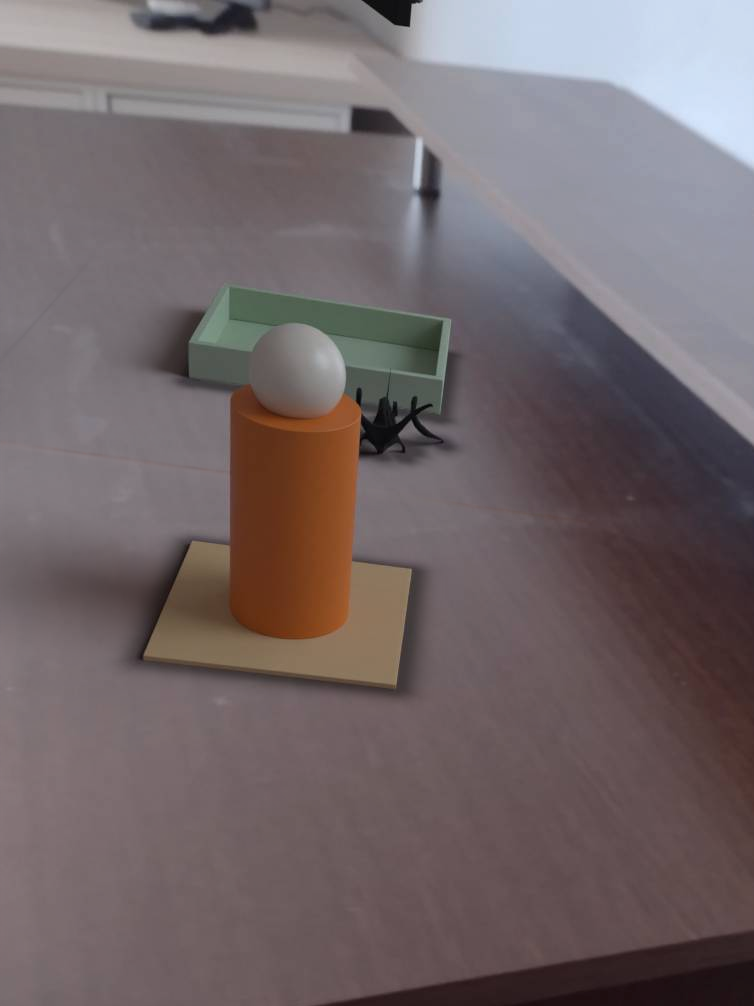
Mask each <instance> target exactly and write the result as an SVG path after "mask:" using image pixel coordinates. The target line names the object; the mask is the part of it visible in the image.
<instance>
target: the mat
mask: <svg viewBox="0 0 754 1006" xmlns="http://www.w3.org/2000/svg"><path fill="white" fill-rule="evenodd" d="M412 571H413V569H412V568H408V567H407V568H406V567H400V566H392V565H386V564H385V565H384V564H377V563H376V564H375V563H368V562H361V561H354V560H352V567H351V582H350V598H349V613H348V618H347V620H346V622H345V623H344V624H343V625H342V626H341V627H340V628H339V629H337V630H335V631H334V632H332V633H329V634H327V635H323V636H320V637H315V638H308V639H283V638H276V637H271V636H266V635H263V634H260V633H257V632H255V631H252V630H250V629H248V628H246V627H245V626H243V625H242V624H240V623H239V622H238V621H237V620H236V619H235V618H234V616H233V615H232V613H231V610H230V544H229V545H228V544H221V543H214V542H205V541H198V540H191V542H190V545H189V547H188V550H187V552H186V554H185V556H184V559H183V561H182V563H181V566H180V568H179V571H178V573H177V575H176V578H175V580H174V582H173V585H172V587H171V589H170V592H169V594H168V596H167V598H166V601H165V602H164V603H165V604H164V606H163V608H162V610H161V612H160V615H159V617H158V619H157V621H156V624H155V627H154V629H153V631H152V634H151V636H150V638H149V641H148V643H147V645H146V647H145V650H144V652H143V655H142V660H143V661H150V662H156V663H157V662H158V663H166V664H175V665H182V666H183V665H184V666H192V667H200V668H201V667H202V668H210V669H216V670H217V669H219V670H227V671H235V672H244V673H252V674H261V675H270V676H276V677H277V676H278V677H287V678H295V679H304V680H313V681H314V680H315V681H321V682H322V681H323V682H330V683H338V684H345V685H346V684H348V685H356V686H364V687H374V688H383V689H389V690H396V689H397V683H398V676H399V675H398V674H399V667H400V660H401V652H402V645H403V638H404V631H405V625H406V624H405V623H406V616H407V608H408V602H409V593H410V586H411V578H412Z"/></svg>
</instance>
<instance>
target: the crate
mask: <svg viewBox="0 0 754 1006" xmlns="http://www.w3.org/2000/svg"><path fill="white" fill-rule="evenodd" d="M287 323H300V324H305V325H309V326H312V327H314V328H316V329H318V330H320V331H321V332H323V333H324V334H326V335H327V336H328V337H329V338H330V339H331V340H332V341H333V342H334V344H335V345H336V346H337V348H338V350H339V351H340V353H341V355H342V358H343V361H344V364H345V369H346V383H345V389H344V392H343V393H344V394H345V395H347V396H349V397H350V398H352V399H353V400H354V401H355V402H356V391H357V388H361V389H362V398H361V404H367V405H373V406H379V400H380V399H381V398H383V397H386V396H387V390H388V383H389V392H388V400H389V402H390V406H391V408H393V401H396V402H397V407H398V409H401V410H407V411H411V401H412V398H413V397H414V396H417V399H418V400H417V406H416V409H417V408H419V407H421V406H424V405H426V404H432V405H433V407H429V408H427V409H425V410H423V411H421V412H420V413H427V414H433V415H434V414H435V415H441V410H442V402H443V393H444V387H445V386H444V385H445V379H446V370H447V363H448V362H447V361H448V355H449V354H448V353H449V345H450V337H451V336H450V335H451V328H452V327H451V326H452V318H450V317H449V318H448V317H441V316H435V315H430V314H429V315H428V314H422V313H416V312H409V311H402V310H397V309H390V308H384V307H378V306H371V305H366V304H359V303H353V302H345V301H339V300H334V299H333V300H332V299H326V298H320V297H313V296H307V295H302V294H301V295H300V294H294V293H288V292H281V291H275V290H269V289H264V288H263V289H262V288H257V287H256V288H255V287H249V286H243V285H238V284H231V283H222V284H221V286H220V287H219V289H218V291H217V292H216V295H215V296H214V298H213V299H212V301H211V303H210V305H209V306H208V307H207V310H206V311H205V313H204V315H203V316H202V318H201V320H200V322H199V324H198V325H197V327H196V328H195V330H194V332H193V333H192V335H191V337H190V339H189V341H188V343H187V347H188V351H187V353H188V378H189V379H194V380H201V381H207V382H208V381H209V382H216V383H223V384H227V385H228V384H229V385H236V386H241V387H243V386H245V385H248V384H250V380H249V370H248V368H249V360H250V356H251V353H252V350H253V348H254V346H255V344H256V343H257V341H258V340H259V339H260V338H261V337H262V336H263V335H264V334H265V333H266V332H268V331H269V330H271V329H272V328H274V327H277V326H279V325H283V324H287ZM390 368H391V372H390ZM389 376H390V382H389Z"/></svg>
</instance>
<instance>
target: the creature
mask: <svg viewBox="0 0 754 1006" xmlns="http://www.w3.org/2000/svg"><path fill="white" fill-rule="evenodd" d="M390 372H391V368H390ZM389 382H390V376H389ZM388 392H389V383H388V390H387V396H386V397H383V398H381V399H380V400H379V405H377V406H378V407H377V411H376V415H375V416H374V419H373V421H370V420H368V418H367V417H365V415H364V414H363V413H362V412H361V427H362V428H363V430H364V433H363V435H362V436H360V441H359V447H361V446H362V442H363V440H367V441H368V442H369V443H370V444H371V445H372V446H373V447H374V449H375V450H376V452H377V453H378V454H379V455H382V454H385V452H386V450H387V449H389V448H390V447H392V446H394V445H395V444H399V446H401V451H402V452H401V453H402V454H403V453H404V454H406V452H407V451H406V446H405V445H404V443H403V442H402V440H401V438H400V435H399V434H400V433H401V432H402V431H403V430H404V428H405V427H407V425H408V424H409V423H410V422H412V424H413V427H414V428H415V430H417V431H418V432H419V433H420V434H421V435H422V436H424V437H426V438H429V439H433V440H436V441H441V442H442V443H445V440H443V438H442V437H440V436H437V435H436V434H434V433H432V432H431V431H430V430H428V429H427V428H426V427H425V426H424V425H423V424H422V423H421V421H420V420H419V418H418V415H419V414H420V413H422V412H421V411H423V410H425V409H427V408H429V407H433V405H432V404H426V405H424V406H421V407H419V408H417V409H416V406H417V400H418V399H417V396H414V397H413V398H412V401H411V410H409V411H410V412H409V413H408V414H407V415H405V417H403V418H402V419H401V420H400V421H398V422H397V420H396V417H398V415H399V408H398V407H397V402H396V401H393V407H391V406H390V402H389V400H388ZM343 394H344V393H343ZM361 398H362V389H361V388H357V391H356V403H357V404H358V405H359V407H360V408H361V406H362V403H361Z"/></svg>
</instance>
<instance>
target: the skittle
mask: <svg viewBox="0 0 754 1006" xmlns="http://www.w3.org/2000/svg"><path fill="white" fill-rule="evenodd" d="M248 370H249V380H250V384H248V385H245V386H241V387H239V388H237V389H236V390H235V391H233V392H232V394H231V395H230V399H229V406H230V407H229V419H230V420H229V545H230V610H231V613H232V615H233V616H234V618H235V619H236V620H237V621H238V622H239V623H240V624H242V625H243V626H245V627H246V628H248V629H250V630H252V631H255V632H257V633H260V634H263V635H266V636H271V637H276V638H283V639H308V638H315V637H320V636H323V635H327V634H329V633H332V632H334V631H335V630H337V629H339V628H340V627H341V626H342V625H343V624H344V623H345V622H346V620H347V618H348V613H349V598H350V582H351V567H352V561H353V551H354V550H353V549H354V536H355V535H354V534H355V533H354V532H355V517H356V503H357V502H356V501H357V488H358V485H357V484H358V473H359V455H360V446H359V441H360V438H361V427H362V425H361V413H362V409H361V406H360V407H359V405H358V404H357V403H356V402H355V401H354V400H353V399H352V398H350V397H349V396H347V395H345V394H343V392H344V389H345V383H346V369H345V364H344V361H343V358H342V355H341V353H340V351H339V350H338V348H337V346H336V345H335V344H334V342H333V341H332V340H331V339H330V338H329V337H328V336H327V335H326V334H324V333H323V332H321V331H320V330H318V329H316V328H314V327H312V326H309V325H305V324H300V323H287V324H283V325H279V326H277V327H274V328H272V329H271V330H269V331H268V332H266V333H265V334H264V335H263V336H262V337H261V338H260V339H259V340H258V341H257V343H256V344H255V346H254V348H253V350H252V353H251V356H250V360H249V368H248Z"/></svg>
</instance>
